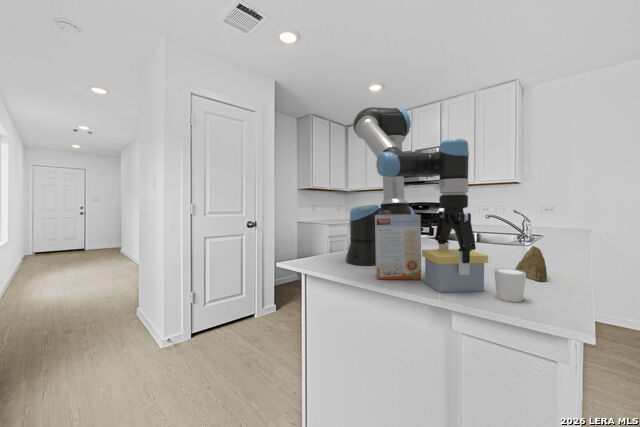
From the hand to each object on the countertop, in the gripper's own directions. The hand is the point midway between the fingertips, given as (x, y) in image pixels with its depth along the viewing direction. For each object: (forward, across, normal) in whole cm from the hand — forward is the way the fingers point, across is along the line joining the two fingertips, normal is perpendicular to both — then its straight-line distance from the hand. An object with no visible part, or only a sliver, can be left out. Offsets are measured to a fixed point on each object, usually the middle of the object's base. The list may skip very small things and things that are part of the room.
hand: (452, 269), depth 84 cm
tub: (+5, 0, 0) cm, 5 cm away
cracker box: (+5, -11, -13) cm, 18 cm away
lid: (-3, 0, 0) cm, 3 cm away
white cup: (+5, +11, +9) cm, 15 cm away
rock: (+5, -7, +29) cm, 30 cm away
